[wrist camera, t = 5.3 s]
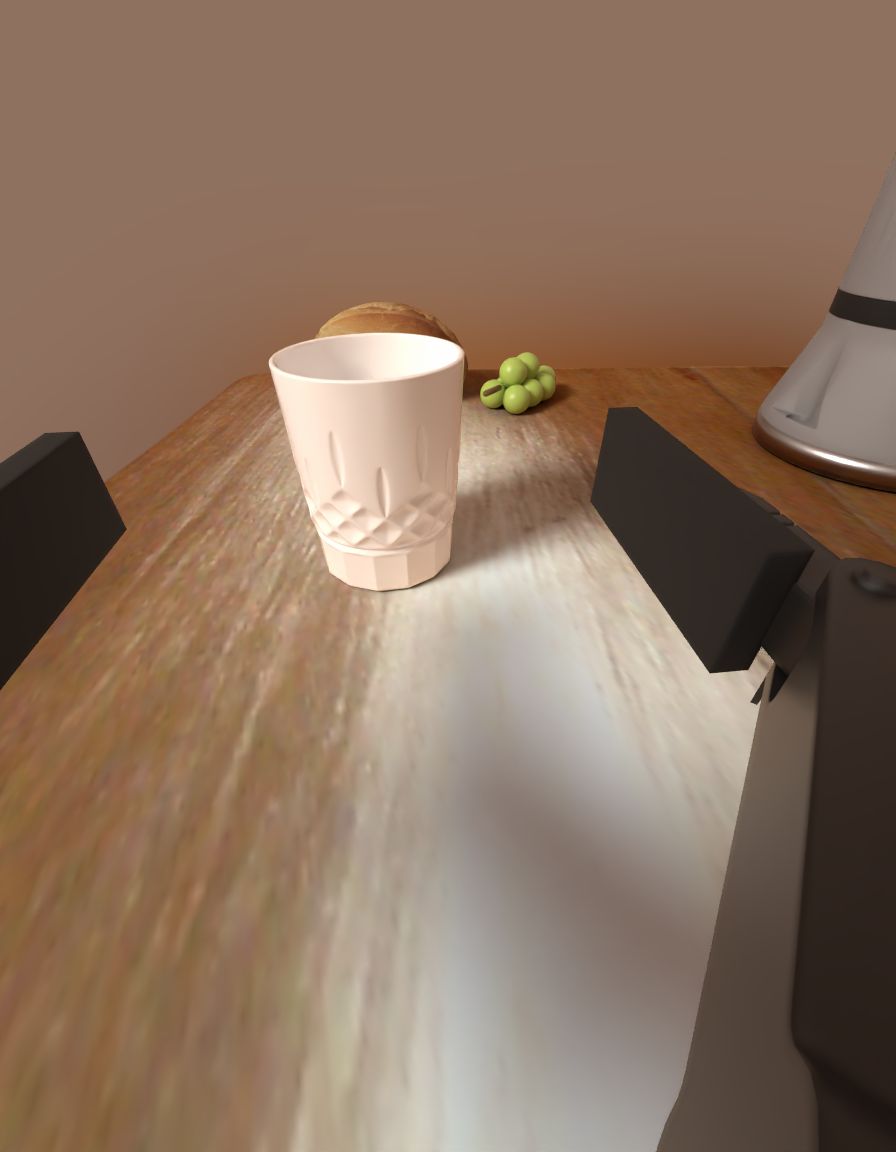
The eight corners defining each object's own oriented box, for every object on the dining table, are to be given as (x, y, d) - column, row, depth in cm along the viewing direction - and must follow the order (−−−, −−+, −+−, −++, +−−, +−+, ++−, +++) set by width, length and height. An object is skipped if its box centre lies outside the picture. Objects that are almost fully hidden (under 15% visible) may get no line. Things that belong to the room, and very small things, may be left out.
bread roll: (475, 409, 43) (477, 309, 38) (306, 417, 42) (286, 315, 37) (461, 379, 51) (461, 291, 46) (317, 385, 50) (302, 296, 45)
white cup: (303, 531, 28) (259, 342, 21) (432, 504, 30) (425, 326, 24) (330, 618, 22) (281, 392, 16) (487, 576, 24) (498, 365, 18)
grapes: (526, 384, 49) (531, 339, 47) (569, 393, 47) (576, 346, 44) (460, 414, 42) (461, 364, 40) (506, 426, 40) (509, 374, 37)
